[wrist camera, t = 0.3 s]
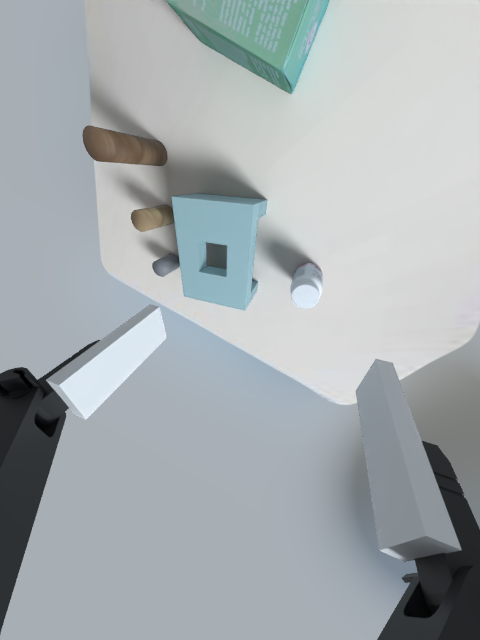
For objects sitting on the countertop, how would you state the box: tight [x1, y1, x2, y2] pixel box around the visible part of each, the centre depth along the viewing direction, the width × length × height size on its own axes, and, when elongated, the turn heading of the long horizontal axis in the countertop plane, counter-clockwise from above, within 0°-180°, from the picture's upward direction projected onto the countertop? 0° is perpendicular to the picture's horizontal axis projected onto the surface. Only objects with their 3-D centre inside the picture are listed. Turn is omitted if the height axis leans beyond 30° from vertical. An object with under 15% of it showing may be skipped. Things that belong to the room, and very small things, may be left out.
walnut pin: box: [83, 126, 167, 166], centre depth 29 cm, size 3×3×12 cm
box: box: [166, 0, 329, 94], centre depth 20 cm, size 7×14×8 cm, turn 66°
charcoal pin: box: [152, 254, 180, 277], centre depth 42 cm, size 3×3×5 cm
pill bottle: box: [291, 263, 322, 309], centre depth 33 cm, size 5×5×8 cm
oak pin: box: [131, 205, 174, 232], centre depth 36 cm, size 3×3×8 cm
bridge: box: [171, 193, 267, 310], centre depth 35 cm, size 16×12×8 cm
